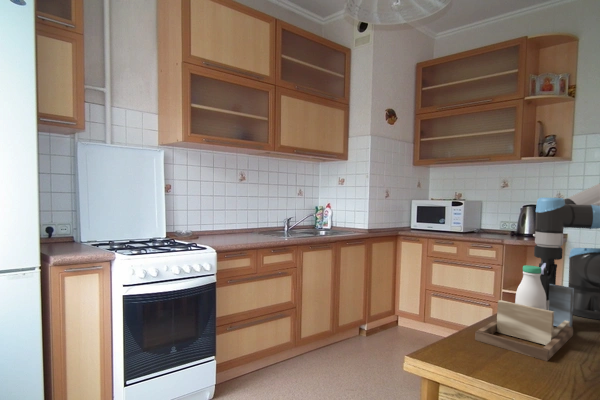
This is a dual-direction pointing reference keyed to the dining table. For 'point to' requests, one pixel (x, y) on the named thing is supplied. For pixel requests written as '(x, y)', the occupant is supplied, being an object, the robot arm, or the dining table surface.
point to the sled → (537, 317)
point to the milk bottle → (531, 289)
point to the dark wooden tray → (533, 351)
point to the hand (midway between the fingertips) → (545, 318)
